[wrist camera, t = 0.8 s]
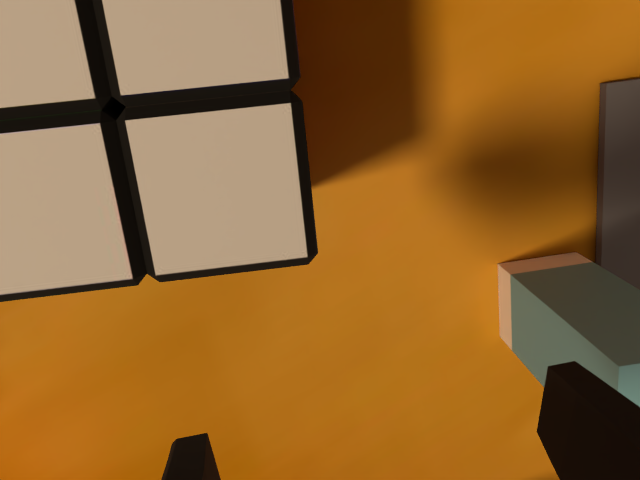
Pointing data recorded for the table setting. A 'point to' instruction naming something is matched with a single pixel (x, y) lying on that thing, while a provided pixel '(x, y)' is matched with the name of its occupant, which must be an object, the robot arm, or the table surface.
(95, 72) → the puzzle cube
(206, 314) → the table surface
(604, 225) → the charcoal mat
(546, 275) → the teal block
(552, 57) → the table surface
